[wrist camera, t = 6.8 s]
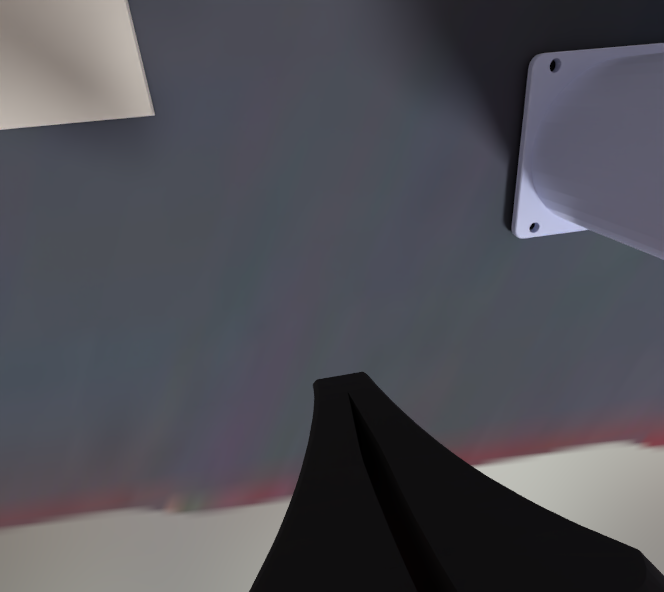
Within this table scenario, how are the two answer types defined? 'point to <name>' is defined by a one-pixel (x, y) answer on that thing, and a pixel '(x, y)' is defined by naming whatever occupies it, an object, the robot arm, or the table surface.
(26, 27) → the mat
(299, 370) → the table surface
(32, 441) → the table surface
